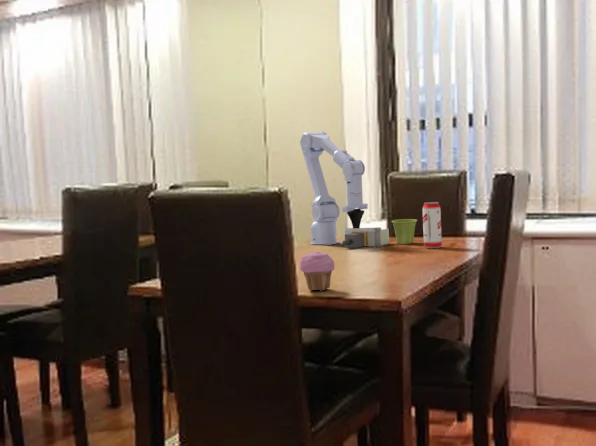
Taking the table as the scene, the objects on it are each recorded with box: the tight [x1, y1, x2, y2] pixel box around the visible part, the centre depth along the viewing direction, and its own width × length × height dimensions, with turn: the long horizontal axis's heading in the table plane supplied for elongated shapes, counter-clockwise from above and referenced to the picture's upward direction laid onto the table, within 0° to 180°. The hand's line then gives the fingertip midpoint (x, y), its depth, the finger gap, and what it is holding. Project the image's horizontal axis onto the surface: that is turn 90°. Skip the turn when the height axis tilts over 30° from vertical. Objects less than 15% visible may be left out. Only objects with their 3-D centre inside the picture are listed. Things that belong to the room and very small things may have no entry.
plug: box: [342, 231, 368, 249], centre depth 276 cm, size 6×15×5 cm, turn 143°
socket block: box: [344, 228, 390, 248], centre depth 281 cm, size 16×11×6 cm
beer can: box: [422, 201, 443, 250], centre depth 262 cm, size 6×6×16 cm
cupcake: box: [299, 251, 335, 292], centre depth 190 cm, size 9×9×10 cm
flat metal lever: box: [344, 226, 382, 232], centre depth 275 cm, size 13×3×1 cm, turn 71°
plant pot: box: [391, 218, 418, 245], centre depth 279 cm, size 9×9×9 cm
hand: (356, 229), depth 277 cm, fingers closed, pressing on flat metal lever
